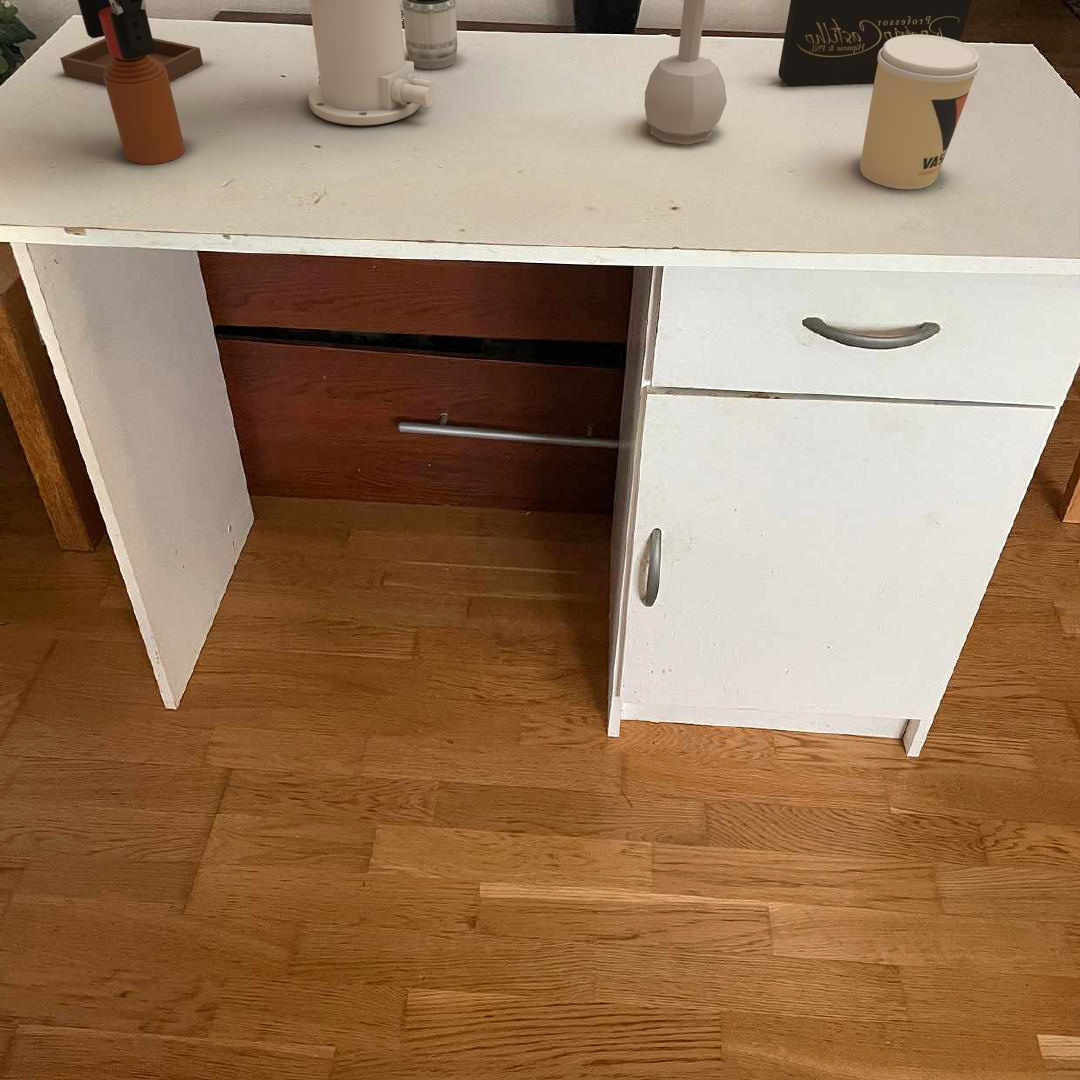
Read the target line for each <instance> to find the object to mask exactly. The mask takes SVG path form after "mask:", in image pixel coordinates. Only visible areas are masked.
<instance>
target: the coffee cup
mask: <svg viewBox="0 0 1080 1080" xmlns="http://www.w3.org/2000/svg"><path fill="white" fill-rule="evenodd" d="M980 65H981V64H980V56H979V53H978V51H977V50H976V49H975V48H974V47H972V46H971V45H968V44H967V43H964V42H962V41H961V40H960V41H957V40H953V39H950V38H945V37H940V36H933V35H903V36H897V37H894V38H891V39H890V40H888V41H887V42H886V43H885V44H884V45H883V48H881V49H880V51H879V53H878V66H877V71H876V76H875V81H874V83H873V87H872V94H871V99H870V104H869V110H868V115H867V120H866V121H867V122H866V127H865V133H864V140H863V144H862V145H863V146H862V151H861V156H860V157H861V158H860V164H859V170H860V173H861V174H862V176H863V177H864V178H865V179H867V180H868V181H870V182H872V183H874V184H877V185H879V186H882V187H885V188H890V189H896V190H906V191H907V190H910V191H911V190H920V189H925V188H927V187H930V186H931V185H933V183H935V181H936V180H937V178H938V175H939V172H940V170H941V169H942V165H943V162H944V160H945V157H946V155H947V152H948V149H949V147H950V144H951V142H952V139H953V136H954V134H955V131H956V129H957V126H958V123H959V120H960V118H961V115H962V112H963V110H964V107H965V104H966V102H967V99H968V96H969V93H970V92H971V91H970V90H971V88H972V85H973V82H974V79H975V76H977V74H978V73H979V70H980Z"/></svg>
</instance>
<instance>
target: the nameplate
mask: <svg viewBox="0 0 1080 1080" xmlns="http://www.w3.org/2000/svg"><path fill="white" fill-rule="evenodd" d="M972 1H973V0H790V2H789V7H788V13H787V19H786V26H785V32H784V38H783V43H782V49H781V55H780V59H779V66H778V72H777V73H778V74H777V75H778V78H779V79H780V80H781V81H782V83H783V84H784V85H785V86H786V87H789V88H790V87H812V86H813V87H814V86H815V87H816V86H835V85H837V86H839V85H862V84H863V85H864V84H865V85H866V84H874V81H875V76H876V71H877V66H878V53H879V51H880V49H881V48H883V45H884V44H885V43H886V42H887V41H888V40H890V39H891V38H894V37H897V36H903V35H933V36H940V37H945V38H950V39H953V40H957V41H960V42H961V40H962V36H963V33H964V29H965V27H966V26H965V25H966V23H967V19H968V15H969V12H970V8H971V5H972Z"/></svg>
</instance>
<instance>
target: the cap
mask: <svg viewBox="0 0 1080 1080" xmlns="http://www.w3.org/2000/svg"><path fill="white" fill-rule="evenodd" d="M110 13H114V11H113V9H112V6H111V7H107V8H104V9H102V10H100V11H99V17H100V21H101V25H102V28H103V32H104V36H103V37H104V38H105V39H106V43H107V46H108V50H109V54H110V55H111V56H113V57H115V58H121V59H124V58H123V57H122V56H121V54H120V50H119V46H118V43H117V39H116V35H115V31H114V28H113V24H112V20H111V16H110Z"/></svg>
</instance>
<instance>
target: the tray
mask: <svg viewBox="0 0 1080 1080" xmlns="http://www.w3.org/2000/svg"><path fill="white" fill-rule="evenodd" d="M152 38H153V42H154V47H155V52H154V53H153V54H149V56H151V57H152V58H154V59H156V60H157V61H159V62H161V63H162V64H163V66H164V67H165V68H166V70H167V75H168V79H169V83H171V82H172V81H175V80H177V79H178V78H181V77H183V76H184V75H187V74H188V73H190V72H192V71H194V70H196V69H198V68H200V67H202V66H204V62H203V56H202V53H201V48H200V47H198V46H194V45H188V44H184V43H179V42H174V41H171V40H165V39H161V38H155V37H152ZM113 59H114V57H113V56H111V55H110V54H109V50H108V46H107V43H106V39H105V37H104V38H102V39H100V40H98V41H95V42H93V43H91V44H89V45H86V46H84V47H81V48H80V49H77V50H75V51H73V52H71V53H68V54H66V55H64V56H61V57H60V62H61V66H62V70H63V72H64V76H66V77H71V78H75V79H79V80H83V81H88V82H92V83H97V84H100V85H105V82H104V78H103V74H104V70H105V68H106V67H107V66H108V64H109V63H111V61H112V60H113Z"/></svg>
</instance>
